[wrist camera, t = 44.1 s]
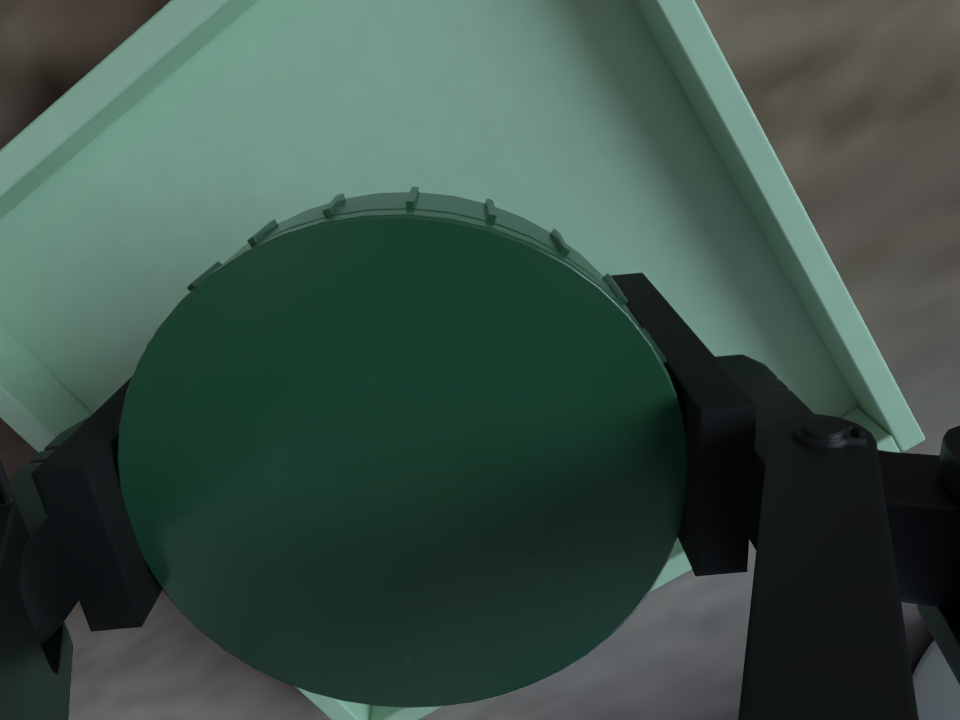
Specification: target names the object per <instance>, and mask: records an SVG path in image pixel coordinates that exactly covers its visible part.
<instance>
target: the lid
mask: <svg viewBox="0 0 960 720" xmlns="http://www.w3.org/2000/svg"><path fill="white" fill-rule="evenodd" d="M247 242H248V243H247V244H246V245H244V246H243V247H242V248H241V249H240V250H239V251H237V252H236V253H235V254H234V255H233V256H231V257H230V258H229V259H228V260H227V261H226V262H224V263H223V264H221V263H220V262H219V261H218V262H216V263H215V264H214V265H213V266H212V267H210V268H209V269H208V270H207V271H205V272H204V273H203V274H202V275H201V276H199V277H198V278H197V279H196V280H194V281H193V282H192V283H191V284H190V285H189V286H188V287H187V289H188V290H189V291H190V293H189V294H188V295H186V296H185V297H184V298H183V299H182V300H181V301H180V302H179V304H178V305H177V306H176V307H175V308H174V310H173V311H172V312H171V313H170V314H169V316H168V317H167V318H166V319H165V320H164V322H163V323H162V324H161V325H160V326H159V328H158V329H157V331H156V332H155V334H154V336H153V337H152V339H151V340H150V341H149V342H148V344H147V346H146V349H145V351H144V352H143V354H142V356H141V358H140V359H139V362H138V364H137V367H136V369H135V372H134V374H133V377H132V379H131V382H130V384H129V387H128V389H127V392H126V396H125V401H124V405H123V410H122V414H121V419H120V423H119V435H118V452H117V464H118V474H119V485H120V490H121V493H122V496H123V500H124V503H125V506H126V509H127V512H128V515H129V518H130V521H131V524H132V528H133V531H134V534H135V537H136V540H137V543H138V545H139V548H140V551H141V554H142V556H143V559H144V560H145V562H146V564H147V566H148V567H149V569H150V571H151V572H152V574H153V576H154V578H155V579H156V581H157V582H158V584H159V585H160V586H161V588H162V589H163V590H164V591H165V593H166V594H167V595H168V597H169V598H170V599H171V600H172V602H173V603H174V604H175V606H176V607H177V608H178V609H179V610H180V611H181V612H182V613H183V614H184V615H185V616H186V617H187V618H188V619H189V620H190V621H191V622H192V623H193V624H194V625H195V626H196V627H197V628H198V629H199V630H200V631H201V632H203V633H204V634H205V635H206V636H208V637H209V638H210V639H211V640H213V641H214V642H215V643H216V644H218V645H219V646H220V647H221V648H223V649H224V650H225V651H227V652H228V653H230V654H232V655H233V656H235V657H236V658H238V659H240V660H241V661H243V662H244V663H246V664H248V665H249V666H251V667H252V668H254V669H257V670H259V671H261V672H263V673H265V674H267V675H269V676H271V677H273V678H275V679H277V680H279V681H281V682H284V683H286V684H289V685H292V686H295V687H297V688H300V689H303V690H305V691H308V692H311V693H314V694H318V695H322V696H326V697H330V698H334V699H338V700H342V701H347V702H353V703H360V704H366V705H373V706H386V707H403V708H413V707H438V706H446V705H454V704H461V703H468V702H474V701H478V700H482V699H486V698H490V697H494V696H498V695H502V694H505V693H508V692H511V691H514V690H517V689H519V688H522V687H525V686H528V685H531V684H533V683H535V682H537V681H540V680H542V679H544V678H546V677H548V676H550V675H552V674H554V673H556V672H559V671H561V670H562V669H564V668H565V667H567V666H569V665H570V664H572V663H573V662H575V661H577V660H578V659H580V658H582V657H583V656H585V655H586V654H588V653H589V652H590V651H592V650H593V649H594V648H595V647H597V646H598V645H599V644H601V643H602V642H603V641H604V640H606V639H607V638H608V637H609V636H611V635H612V634H613V633H614V632H615V631H616V630H617V629H618V628H619V627H620V626H621V625H622V624H623V623H624V622H625V621H626V620H627V619H628V618H629V617H630V616H631V615H632V614H633V613H634V611H635V610H636V609H637V607H638V606H639V605H640V603H641V602H642V601H643V600H644V598H645V597H646V596H647V594H648V593H649V592H650V591H651V589H652V588H653V586H654V584H655V582H656V581H657V579H658V577H659V576H660V574H661V572H662V570H663V569H664V567H665V565H666V564H667V562H668V559H669V557H670V554H671V552H672V549H673V547H674V544H675V542H676V540H677V537H678V535H679V531H680V527H681V523H682V519H683V515H684V511H685V507H686V475H687V433H686V427H685V423H684V418H683V413H682V408H681V405H680V402H679V399H678V397H677V394H676V391H675V389H674V386H673V383H672V381H671V378H670V375H669V373H668V371H667V369H666V368H665V366H664V364H663V363H664V362H666V358H665V356H664V355H663V353H662V352H661V350H660V349H659V347H658V346H657V344H656V343H655V342H654V340H653V339H652V337H651V336H650V334H649V333H648V331H647V330H646V329H645V328H643V329H642V328H641V326H640V325H639V323H638V322H637V320H636V319H635V318H634V316H633V315H632V313H631V312H630V310H629V309H628V307H627V306H626V303H627V302H628V300H627V299H626V297H625V296H624V294H623V293H622V291H621V290H620V288H619V287H618V286H617V284H616V283H615V281H614V280H613V278H612V277H611V276H610V275H609V274H608V273H607V274H606V275H605V276H603V275H602V274H601V273H600V272H599V271H598V270H597V269H596V268H594V267H593V266H592V265H591V264H590V263H589V262H588V261H587V260H586V259H585V258H584V257H583V256H582V255H581V254H580V253H578V252H577V251H576V250H574V249H573V248H572V247H570V246H569V245H568V244H566V243H565V241H564V239H563V238H562V236H561V234H560V232H559V231H557V230H556V229H553V230H552V232H551V233H550V232H549V231H547V230H545V229H543V228H541V227H539V226H538V225H536V224H534V223H532V222H530V221H528V220H527V219H525V218H523V217H521V216H518V215H515V214H513V213H510V212H508V211H505V210H502V209H500V208H497V207H494V202H493V200H490V199H486V201H485V203H481V202H477V201H473V200H469V199H465V198H460V197H456V196H451V195H441V194H431V193H421V192H419V187H412V188H411V190H410V192H396V193H376V194H370V195H364V196H358V197H352V198H346V199H345V196H344V194H339V195H336V197H335V198H334V199H333V200H332V201H331V202H330V203H328V204H325V205H321V206H318V207H315V208H312V209H309V210H306V211H304V212H302V213H300V214H298V215H295V216H293V217H291V218H289V219H287V220H285V221H283V222H280V223H278V224H277V222H276V220H275V219H274V220H272V221H270V222H269V223H267V224H266V225H265V226H264V227H263V228H261V229H260V230H259V231H258V232H257V233H255V234H254V235H253V236H252V237H251V238H249V239H248V240H247Z"/></svg>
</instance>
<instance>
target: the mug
mask: <svg viewBox="0 0 960 720" xmlns="http://www.w3.org/2000/svg"><path fill="white" fill-rule="evenodd" d="M912 678H913V685H914V691H915V698H916V704H917V711H918V718H919V720H960V685H959V683H958V681H957V679H956V677H955V676H954V674H953V672H952V670H951V668H950V667H949V665H948V663H947V661H946V659H945V658H944V656H943V654H942V652H941V650H940V649H939V647H938V645H937V643H936V641H935V640H934V641H933V642H932V643H931V644H930V646H929V647H928V649H927V650H926V652H925V653H924V654H923V656H922V658H921V660H920V662H919V664H918V665H917V667H916V669H915V671H914V673H913V676H912Z"/></svg>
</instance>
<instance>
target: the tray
mask: <svg viewBox="0 0 960 720" xmlns="http://www.w3.org/2000/svg"><path fill="white" fill-rule="evenodd" d="M412 187H419V192H421V193H431V194H441V195H451V196H456V197H460V198H465V199H469V200H473V201H477V202H481V203H485V201H486V199H490V200H493V202H494V207H497V208H500V209H502V210H505V211H508V212H510V213H513V214H515V215H518V216H521V217H523V218H525V219H527V220H528V221H530V222H532V223H534V224H536V225H538V226H539V227H541V228H543V229H545V230H547V231H549V232H550V233H551V232H552V230H553V229H556V230H557V231H559V232H560V234H561V236H562V238H563V239H564V241H565V243H566V244H568V245H569V246H570V247H572V248H573V249H574V250H576V251H577V252H578V253H580V254H581V255H582V256H583V257H584V258H585V259H586V260H587V261H588V262H589V263H590V264H591V265H592V266H593V267H594V268H596V269H597V270H598V271H599V272H600V273H601V274H602V275H603V276H605V275H606V274H607V273H608V274H609V275H621V274H631V273H643V274H644V275H645V276H646V277H647V278H648V280H649V281H650V282H651V283H652V284H653V285H654V287H655V288H656V289H657V290H658V291H659V292H660V294H661V295H662V296H663V297H664V298H665V299H666V300H667V302H668V303H669V304H670V305H671V306H672V307H673V309H674V310H675V311H676V312H677V313H678V314H679V316H680V317H681V318H682V319H683V320H684V321H685V323H686V324H687V325H688V326H689V327H690V328H691V330H692V331H693V332H694V333H695V334H696V335H697V336H698V338H699V339H700V340H701V341H702V342H703V343H704V345H705V346H706V347H707V348H708V349H709V350H710V352H711V353H712V354H713V355H714V356H715V357H718V356H729V355H739V354H743V355H745V356H747V357H750V358H752V359H754V360H756V361H759V362H761V363H763V364H765V365H766V366H767V367H768V368H769V369H770V370H771V371H772V372H773V373H774V374H775V375H776V376H777V377H778V380H781V381H782V382H783V383H784V384H785V385H786V386H787V387H788V390H791V391H792V392H793V393H794V394H795V395H796V396H797V397H798V398H799V399H800V400H801V401H802V402H803V403H804V404H805V405H806V406H807V407H808V408H809V409H810V410H811V411H812V412H813V413H814V414H822V415H828V416H834V417H840V418H843V419H846V420H849V421H851V422H854V423H857V424H859V425H861V426H862V427H864V428H865V429H867V430H868V431H870V432H871V433H872V435H873V437H874V438H875V440H876V442H877V448H878V450H881V451H889V452H897V453H900V451H902V452H904V451H906V450H908V449H910V448H912V447H913V446H915V445H917V444H919V443H921V442H922V441H924V440H925V437H924V435H923V433H922V431H921V429H920V427H919V425H918V423H917V422H916V420H915V418H914V416H913V414H912V412H911V410H910V408H909V406H908V404H907V403H906V401H905V399H904V397H903V395H902V393H901V391H900V389H899V387H898V386H897V384H896V382H895V380H894V378H893V376H892V374H891V372H890V370H889V368H888V367H887V365H886V363H885V361H884V359H883V357H882V355H881V353H880V351H879V349H878V348H877V346H876V344H875V342H874V340H873V338H872V336H871V334H870V332H869V330H868V329H867V327H866V325H865V323H864V321H863V319H862V317H861V315H860V313H859V311H858V310H857V308H856V306H855V304H854V302H853V300H852V298H851V296H850V294H849V293H848V291H847V289H846V287H845V285H844V283H843V281H842V279H841V277H840V275H839V274H838V272H837V270H836V268H835V266H834V264H833V262H832V260H831V258H830V256H829V255H828V253H827V251H826V249H825V247H824V245H823V243H822V241H821V239H820V237H819V236H818V234H817V232H816V230H815V228H814V226H813V224H812V222H811V220H810V218H809V217H808V215H807V213H806V211H805V209H804V207H803V205H802V203H801V201H800V199H799V198H798V196H797V194H796V192H795V190H794V188H793V186H792V184H791V182H790V181H789V179H788V177H787V175H786V173H785V171H784V169H783V167H782V165H781V163H780V162H779V160H778V158H777V156H776V154H775V152H774V150H773V148H772V146H771V144H770V143H769V141H768V139H767V137H766V135H765V133H764V131H763V129H762V127H761V125H760V124H759V122H758V120H757V118H756V116H755V114H754V112H753V110H752V108H751V106H750V105H749V103H748V101H747V99H746V97H745V95H744V93H743V91H742V89H741V88H740V86H739V84H738V82H737V80H736V78H735V76H734V74H733V72H732V70H731V69H730V67H729V65H728V63H727V61H726V59H725V57H724V55H723V53H722V51H721V50H720V48H719V46H718V44H717V42H716V40H715V38H714V36H713V34H712V32H711V31H710V29H709V27H708V25H707V23H706V21H705V19H704V17H703V15H702V13H701V12H700V10H699V8H698V6H697V4H696V2H695V0H171V1H169V2H168V3H167V4H166V5H165V6H164V7H163V8H161V9H160V10H159V11H158V12H157V13H156V14H155V15H153V16H152V17H151V18H150V19H149V20H148V21H147V22H145V23H144V24H143V25H142V26H141V27H140V28H139V29H138V30H136V31H135V32H134V33H133V34H132V35H131V36H130V37H128V38H127V39H126V40H125V41H124V42H123V43H122V44H120V45H119V46H118V47H117V48H116V49H115V50H114V51H112V52H111V53H110V54H109V55H108V56H107V57H106V58H104V59H103V60H102V61H101V62H100V63H99V64H98V65H96V66H95V67H94V68H93V69H92V70H91V71H90V72H88V73H87V74H86V75H85V76H84V77H83V78H82V79H80V80H79V81H78V82H77V83H76V84H75V85H74V86H72V87H71V88H70V89H69V90H68V91H67V92H66V93H64V94H63V95H62V96H61V97H60V98H59V99H58V100H56V101H55V102H54V103H53V104H52V105H51V106H50V107H48V108H47V109H46V110H45V111H44V112H43V113H42V114H41V115H39V116H38V117H37V118H36V119H35V120H34V121H33V122H31V123H30V124H29V125H28V126H27V127H26V128H25V129H23V130H22V131H21V132H20V133H19V134H18V135H17V136H15V137H14V138H13V139H12V140H11V141H10V142H9V143H7V144H6V145H5V146H4V147H3V148H2V149H1V150H0V418H1V419H2V420H3V421H5V422H6V423H7V424H8V425H9V426H10V427H11V428H12V429H13V430H14V431H15V432H17V433H18V434H19V435H20V436H21V437H22V438H23V439H24V440H25V441H26V442H28V443H29V444H30V445H31V446H32V447H33V448H34V449H35V450H36V451H37V452H38V453H40V452H41V451H44V450H45V449H44V448H45V447H46V446H47V445H48V444H49V443H50V442H51V441H52V440H53V439H55V438H56V437H57V436H58V435H59V434H60V433H61V432H63V431H65V430H66V429H68V428H70V427H72V426H73V425H75V424H77V423H79V422H80V421H82V420H84V419H86V418H89V417H90V416H91V415H92V414H93V413H94V412H95V411H96V410H97V409H99V408H100V407H101V406H102V405H103V404H104V403H105V402H106V401H107V400H108V399H109V398H110V397H111V396H112V395H113V394H114V393H115V392H116V391H117V390H118V389H119V388H120V387H121V386H122V385H123V384H124V383H125V382H127V381H128V380H129V379H130V378H131V377H132V376H133V374H134V372H135V369H136V367H137V364H138V362H139V359H140V358H141V356H142V354H143V352H144V351H145V349H146V346H147V344H148V342H149V341H150V340H151V339H152V337H153V336H154V334H155V332H156V331H157V329H158V328H159V326H160V325H161V324H162V323H163V322H164V320H165V319H166V318H167V317H168V316H169V314H170V313H171V312H172V311H173V310H174V308H175V307H176V306H177V305H178V304H179V302H180V301H181V300H182V299H183V298H184V297H185V296H186V295H188V294H189V293H190V291H189V290H188V289H187V287H188V286H189V285H190V284H191V283H192V282H193V281H194V280H196V279H197V278H198V277H199V276H201V275H202V274H203V273H204V272H205V271H207V270H208V269H209V268H210V267H212V266H213V265H214V264H215V263H216V262H218V261H219V262H220V263H221V264H223V263H224V262H226V261H227V260H228V259H229V258H230V257H231V256H233V255H234V254H235V253H236V252H237V251H239V250H240V249H241V248H242V247H243V246H244V245H246V244H247V243H248V242H247V240H248V239H249V238H251V237H252V236H253V235H254V234H255V233H257V232H258V231H259V230H260V229H261V228H263V227H264V226H265V225H266V224H267V223H269V222H270V221H272V220H274V219H275V220H276V222H277V224H278V223H280V222H283V221H285V220H287V219H289V218H291V217H293V216H295V215H298V214H300V213H302V212H304V211H306V210H309V209H312V208H315V207H318V206H321V205H325V204H328V203H330V202H331V201H332V200H333V199H334V198H335V197H336V195H339V194H344V196H345V199H346V198H352V197H358V196H364V195H370V194H376V193H396V192H410V190H411V188H412ZM690 569H692V567H691V565H690V563H689V561H688V559H687V556H686V554H685V552H684V550H683V548H682V545H681V543H680V541H679V539H678V537H677V540H676V542H675V544H674V547H673V549H672V552H671V554H670V557H669V559H668V562H667V564H666V565H665V567H664V569H663V570H662V572H661V574H660V576H659V577H658V579H657V581H656V582H655V584H654V586H653V588H652V589H651V591H652V590H654V589H656V588H658V587H660V586H661V585H663V584H665V583H667V582H669V581H671V580H672V579H674V578H676V577H678V576H680V575H681V574H683V573H685V572H687V571H689V570H690ZM651 591H650V592H651ZM296 688H297V687H296ZM297 689H298V690H299V691H300V692H301V693H302V694H304V695H305V696H306V697H307V698H308V699H309V700H310V701H311V702H312V703H313V704H315V705H316V706H317V707H318V708H319V709H320V710H321V711H322V712H323V713H324V714H325V715H327V716H328V717H329V718H330V719H331V720H419V719H421V718H423V717H424V716H426V715H428V714H430V713H432V712H433V711H435V710H437V709H439V708H441V707H442V706H438V707H413V708H403V707H386V706H373V705H366V704H360V703H353V702H347V701H342V700H338V699H334V698H330V697H326V696H322V695H318V694H314V693H311V692H308V691H305V690H303V689H300V688H297Z"/></svg>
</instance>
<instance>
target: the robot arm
mask: <svg viewBox="0 0 960 720" xmlns="http://www.w3.org/2000/svg"><path fill="white" fill-rule="evenodd" d="M610 276H611V277H612V278H613V280H614V281H615V283H616V284H617V286H618V287H619V288H620V290H621V291H622V293H623V294H624V296H625V297H626V299H627V300H628V302H627V303H626V306H627V307H628V309H629V310H630V312H631V313H632V315H633V316H634V318H635V319H636V320H637V322H638V323H639V325H640V326H641V328H642V329H643V328H645V329H646V330H647V331H648V333H649V334H650V336H651V337H652V339H653V340H654V342H655V343H656V344H657V346H658V347H659V349H660V350H661V352H662V353H663V355H664V356H665V358H666V362H664V363H663V364H664V366H665V368H666V369H667V371H668V373H669V375H670V378H671V381H672V383H673V386H674V389H675V391H676V394H677V397H678V399H679V402H680V405H681V408H682V413H683V418H684V423H685V427H686V433H687V475H686V507H685V511H684V515H683V519H682V523H681V527H680V531H679V535H678V539H679V541H680V543H681V545H682V548H683V550H684V552H685V554H686V556H687V559H688V561H689V563H690V565H691V567H692V570H693V572H694V574H695V576H704V575H715V574H726V573H737V572H747V563H748V547H749V539H750V541H751V542H752V544H753V546H754V547H755V549H756V561H755V570H754V579H753V588H752V598H751V607H750V616H749V625H748V635H747V644H746V653H745V662H744V672H743V681H742V690H741V700H740V709H739V718H738V720H919V718H918V711H917V704H916V698H915V691H914V685H913V678H912V672H911V665H910V658H909V652H908V645H907V639H906V632H905V626H904V619H903V612H902V606H901V602H906V603H914V604H917V608H918V611H919V613H920V614H921V616H922V618H923V620H924V622H925V623H926V625H927V627H928V629H929V631H930V632H931V634H932V636H933V638H934V640H935V641H936V643H937V645H938V647H939V649H940V650H941V652H942V654H943V656H944V658H945V659H946V661H947V663H948V665H949V667H950V668H951V670H952V672H953V674H954V676H955V677H956V679H957V681H958V683H959V685H960V426H957V427H955V428H952V429H950V430H948V431H947V432H946V434H945V436H944V437H943V441H942V447H941V452H940V456H937V455H924V454H910V453H897V452H889V451H881V450H878V448H877V442H876V440H875V438H874V437H873V435H872V433H871V432H870V431H868V430H867V429H865V428H864V427H862V426H861V425H859V424H857V423H854V422H851V421H849V420H846V419H843V418H840V417H834V416H828V415H822V414H814V413H813V412H812V411H811V410H810V409H809V408H808V407H807V406H806V405H805V404H804V403H803V402H802V401H801V400H800V399H799V398H798V397H797V396H796V395H795V394H794V393H793V392H792V391H791V390H788V387H787V386H786V385H785V384H784V383H783V382H782V381H781V380H778V377H777V376H776V375H775V374H774V373H773V372H772V371H771V370H770V369H769V368H768V367H767V366H766V365H765V364H763V363H761V362H759V361H756V360H754V359H752V358H750V357H747V356H745V355H743V354H739V355H729V356H718V357H715V356H714V355H713V354H712V353H711V352H710V350H709V349H708V348H707V347H706V346H705V345H704V343H703V342H702V341H701V340H700V339H699V338H698V336H697V335H696V334H695V333H694V332H693V331H692V330H691V328H690V327H689V326H688V325H687V324H686V323H685V321H684V320H683V319H682V318H681V317H680V316H679V314H678V313H677V312H676V311H675V310H674V309H673V307H672V306H671V305H670V304H669V303H668V302H667V300H666V299H665V298H664V297H663V296H662V295H661V294H660V292H659V291H658V290H657V289H656V288H655V287H654V285H653V284H652V283H651V282H650V281H649V280H648V278H647V277H646V276H645V275H644V274H643V273H631V274H621V275H610ZM132 377H133V376H132ZM132 377H131V378H130V379H129V380H128V381H127V382H125V383H124V384H123V385H122V386H121V387H120V388H119V389H118V390H117V391H116V392H115V393H114V394H113V395H112V396H111V397H110V398H109V399H108V400H107V401H106V402H105V403H104V404H103V405H102V406H101V407H100V408H99V409H97V410H96V411H95V412H94V413H93V414H92V415H91V416H90V417H89V418H86V419H84V420H82V421H80V422H79V423H77V424H75V425H73V426H72V427H70V428H68V429H66V430H65V431H63V432H61V433H60V434H59V435H58V436H57V437H56V438H55V439H53V440H52V441H51V442H50V443H49V444H48V445H47V446H46V447H45V448H44V449H45V450H44V451H41V452H40V453H38V454H37V455H36V456H35V457H34V458H33V459H32V460H31V464H27V465H26V466H25V467H23V468H22V469H21V470H20V471H19V472H18V473H17V474H16V475H15V476H14V477H13V478H12V479H11V480H10V481H8V479H7V476H6V473H5V471H4V468H3V466H2V463H1V461H0V720H68V716H69V700H70V685H71V670H72V654H73V644H72V641H71V637H70V635H69V632H68V630H67V627H66V625H65V622H64V621H65V619H66V618H67V616H68V615H69V613H70V612H71V611H72V609H73V608H74V606H75V605H76V604H77V602H78V601H80V604H81V606H82V609H83V612H84V614H85V617H86V619H87V622H88V625H89V627H90V630H91V631H101V630H111V629H122V628H133V627H142V625H143V623H144V621H145V620H146V618H147V616H148V614H149V613H150V611H151V609H152V607H153V605H154V604H155V602H156V600H157V598H158V597H159V595H160V593H161V591H162V588H161V586H160V585H159V584H158V582H157V581H156V579H155V578H154V576H153V574H152V572H151V571H150V569H149V567H148V566H147V564H146V562H145V560H144V559H143V556H142V554H141V551H140V548H139V545H138V543H137V540H136V537H135V534H134V531H133V528H132V524H131V521H130V518H129V515H128V512H127V509H126V506H125V503H124V500H123V496H122V493H121V490H120V485H119V474H118V464H117V452H118V435H119V423H120V419H121V414H122V410H123V405H124V401H125V396H126V392H127V389H128V387H129V384H130V382H131V379H132Z"/></svg>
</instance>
